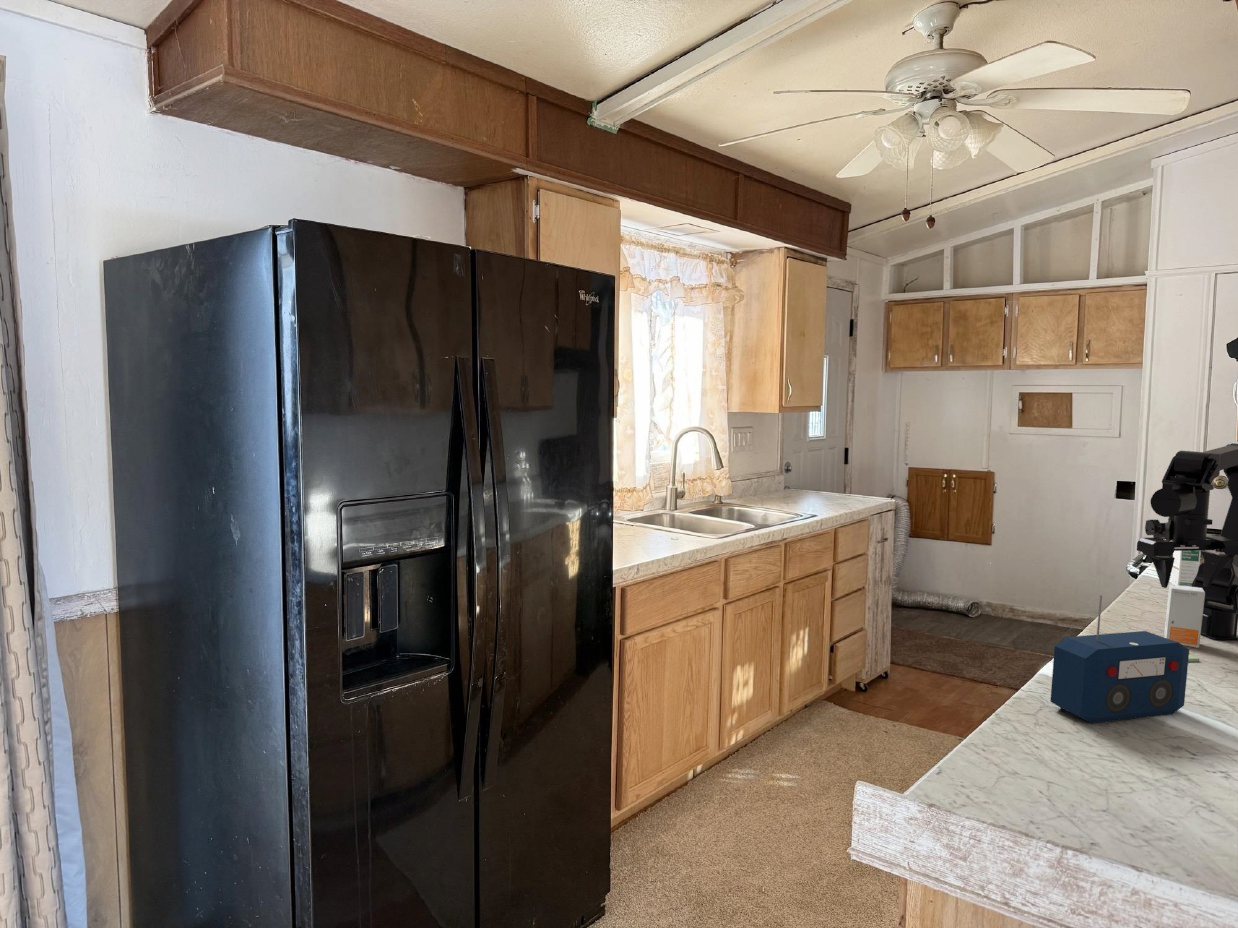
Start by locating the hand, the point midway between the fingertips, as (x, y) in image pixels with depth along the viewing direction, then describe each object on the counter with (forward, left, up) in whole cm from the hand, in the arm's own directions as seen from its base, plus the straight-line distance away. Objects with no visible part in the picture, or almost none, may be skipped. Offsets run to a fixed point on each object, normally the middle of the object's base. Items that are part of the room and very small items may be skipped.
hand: (1185, 586), depth 176 cm
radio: (+37, +34, -13) cm, 51 cm away
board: (+7, +3, -13) cm, 15 cm away
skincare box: (-2, -2, -13) cm, 13 cm away
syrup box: (-40, -50, -13) cm, 65 cm away
